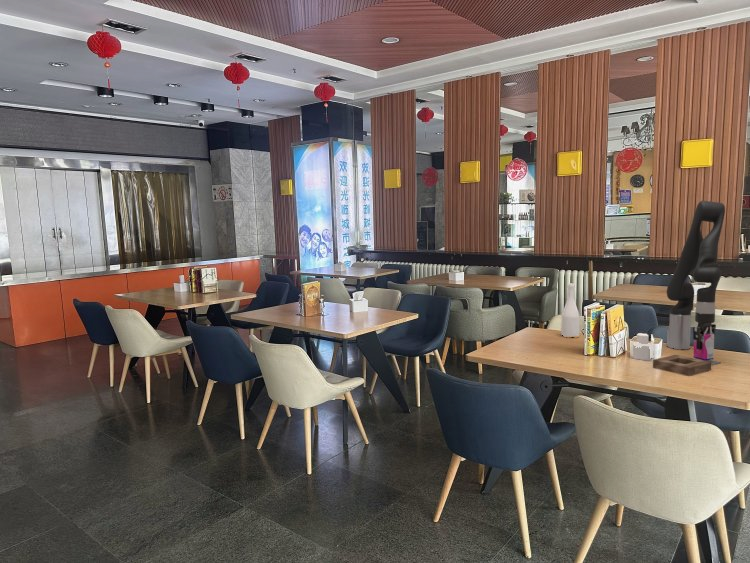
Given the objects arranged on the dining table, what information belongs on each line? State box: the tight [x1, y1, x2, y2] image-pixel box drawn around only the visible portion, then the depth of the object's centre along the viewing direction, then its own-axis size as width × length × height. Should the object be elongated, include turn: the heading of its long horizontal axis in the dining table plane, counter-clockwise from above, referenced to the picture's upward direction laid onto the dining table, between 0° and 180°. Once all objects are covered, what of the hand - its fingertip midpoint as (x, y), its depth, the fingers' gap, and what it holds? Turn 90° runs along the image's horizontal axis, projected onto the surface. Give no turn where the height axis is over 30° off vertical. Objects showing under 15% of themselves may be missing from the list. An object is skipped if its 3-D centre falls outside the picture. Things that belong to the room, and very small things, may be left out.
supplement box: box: [693, 333, 715, 360], centre depth 241 cm, size 6×6×12 cm
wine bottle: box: [560, 282, 581, 337], centre depth 299 cm, size 10×10×30 cm
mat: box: [694, 358, 722, 366], centre depth 241 cm, size 10×10×1 cm
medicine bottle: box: [632, 332, 652, 362], centre depth 250 cm, size 7×7×12 cm
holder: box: [652, 354, 712, 377], centre depth 231 cm, size 16×16×4 cm
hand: (703, 348), depth 241 cm, fingers closed on supplement box, 6 cm apart
